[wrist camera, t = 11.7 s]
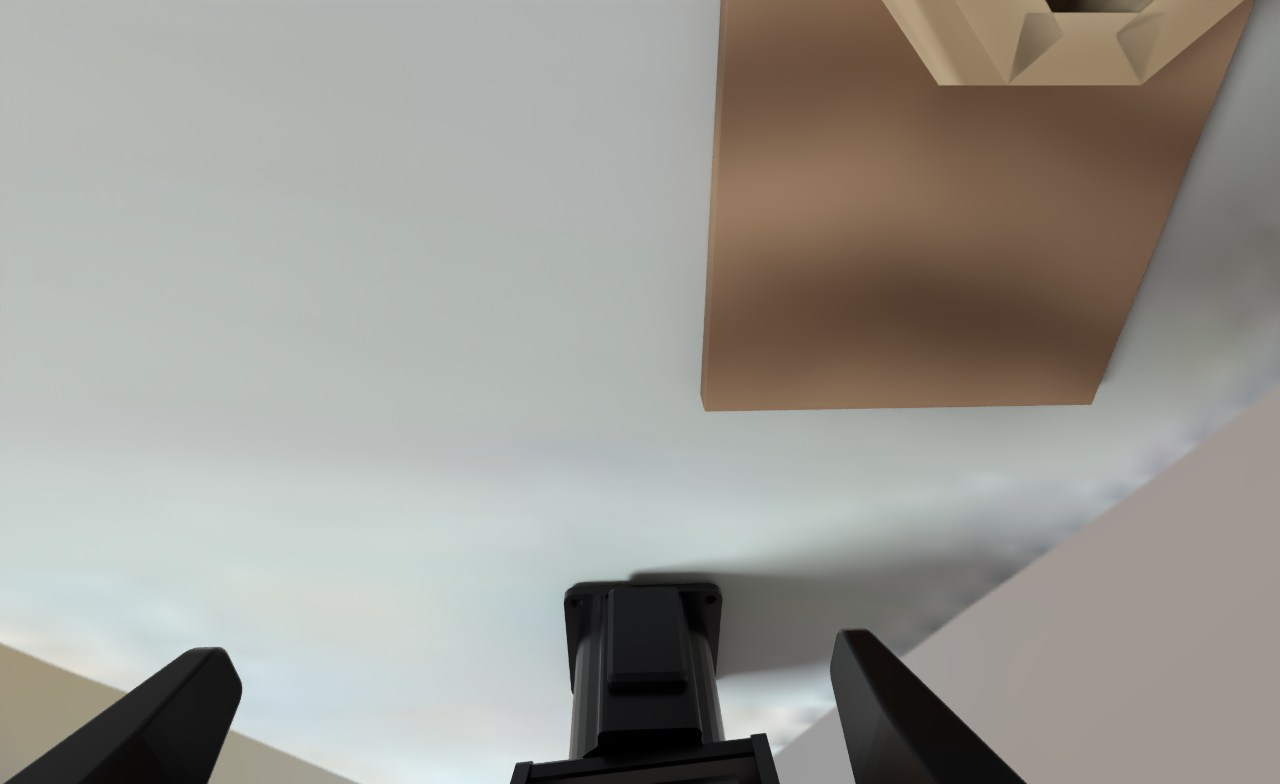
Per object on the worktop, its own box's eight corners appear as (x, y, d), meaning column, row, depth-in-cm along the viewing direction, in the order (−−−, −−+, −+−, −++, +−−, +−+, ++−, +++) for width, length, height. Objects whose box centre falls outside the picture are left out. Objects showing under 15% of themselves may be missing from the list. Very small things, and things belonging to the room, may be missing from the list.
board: (1067, 388, 21) (1091, 404, 20) (700, 394, 20) (705, 411, 19) (1352, -370, 12) (1421, -412, 11) (740, -382, 12) (752, -427, 11)
